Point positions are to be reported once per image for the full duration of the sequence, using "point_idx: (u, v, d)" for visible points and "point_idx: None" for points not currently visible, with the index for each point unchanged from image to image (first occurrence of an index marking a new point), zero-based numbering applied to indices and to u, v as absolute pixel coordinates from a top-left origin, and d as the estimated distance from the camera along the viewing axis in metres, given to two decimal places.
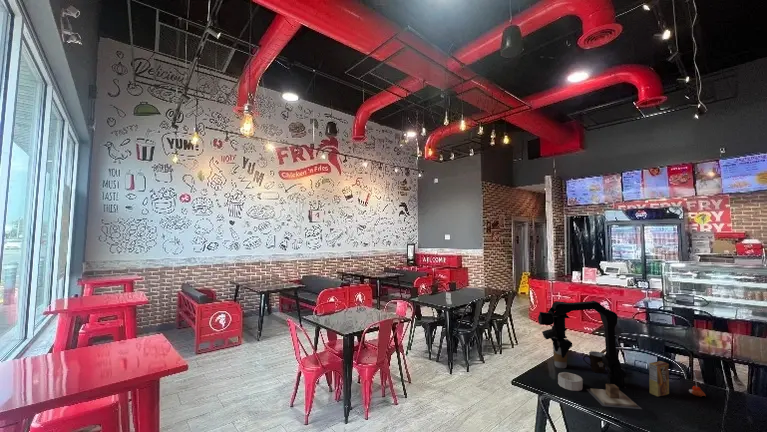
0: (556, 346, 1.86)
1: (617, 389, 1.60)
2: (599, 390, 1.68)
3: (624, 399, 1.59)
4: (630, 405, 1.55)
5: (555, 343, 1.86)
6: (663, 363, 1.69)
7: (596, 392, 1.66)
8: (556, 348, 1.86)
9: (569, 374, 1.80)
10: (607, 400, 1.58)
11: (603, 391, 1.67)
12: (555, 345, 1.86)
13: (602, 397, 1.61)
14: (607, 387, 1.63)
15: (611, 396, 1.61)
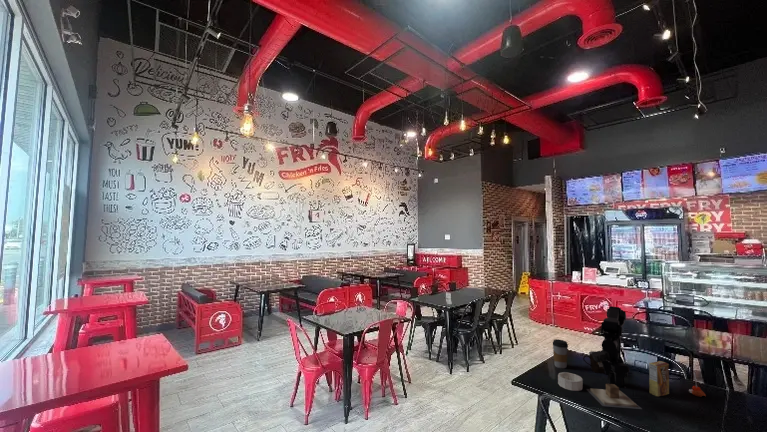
0: (607, 369, 1.67)
1: (617, 389, 1.60)
2: (599, 390, 1.68)
3: (624, 399, 1.59)
4: (630, 405, 1.55)
5: (605, 366, 1.68)
6: (663, 363, 1.69)
7: (596, 392, 1.66)
8: (607, 371, 1.67)
9: (569, 374, 1.80)
10: (607, 400, 1.58)
11: (603, 391, 1.67)
12: (605, 368, 1.68)
13: (602, 397, 1.61)
14: (607, 387, 1.63)
15: (611, 396, 1.61)
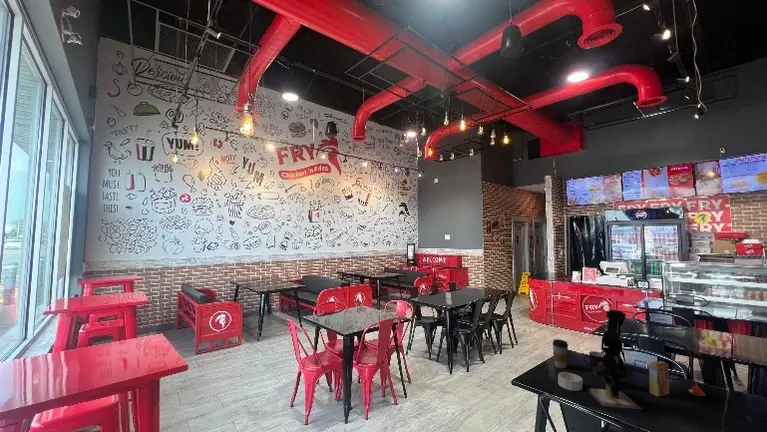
0: None
1: None
2: (599, 390, 1.68)
3: (624, 399, 1.59)
4: (630, 405, 1.55)
5: (608, 382, 1.65)
6: (663, 363, 1.69)
7: (596, 392, 1.66)
8: None
9: (569, 374, 1.80)
10: (607, 400, 1.58)
11: (603, 391, 1.67)
12: None
13: (602, 397, 1.61)
14: (607, 387, 1.63)
15: (611, 396, 1.61)
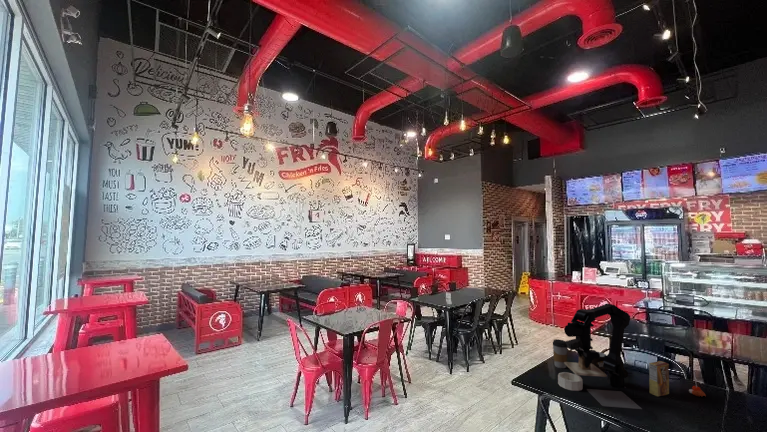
0: None
1: None
2: (573, 363, 1.77)
3: (595, 370, 1.68)
4: (600, 375, 1.63)
5: (581, 355, 1.73)
6: (663, 363, 1.69)
7: (569, 365, 1.74)
8: None
9: (569, 374, 1.80)
10: (579, 371, 1.66)
11: (576, 364, 1.75)
12: None
13: (575, 369, 1.69)
14: (580, 359, 1.71)
15: (583, 368, 1.69)
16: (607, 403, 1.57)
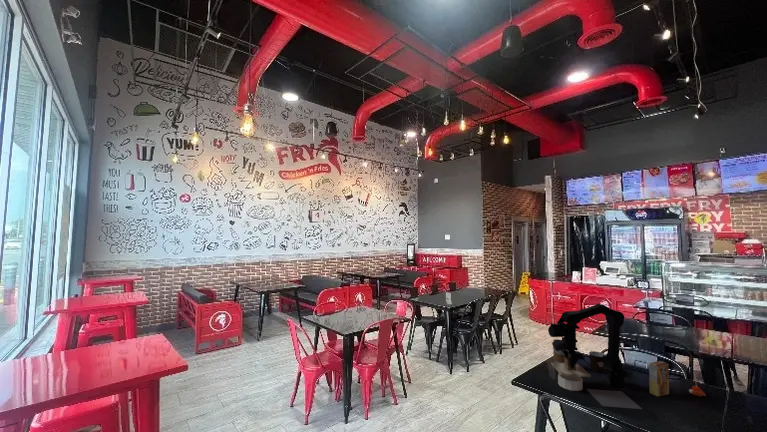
0: None
1: None
2: (559, 363, 1.82)
3: (580, 371, 1.73)
4: (584, 375, 1.68)
5: (567, 356, 1.78)
6: (663, 363, 1.69)
7: (556, 365, 1.79)
8: None
9: None
10: (564, 371, 1.72)
11: (563, 364, 1.80)
12: None
13: (560, 369, 1.74)
14: (565, 360, 1.76)
15: (568, 368, 1.74)
16: (607, 403, 1.57)
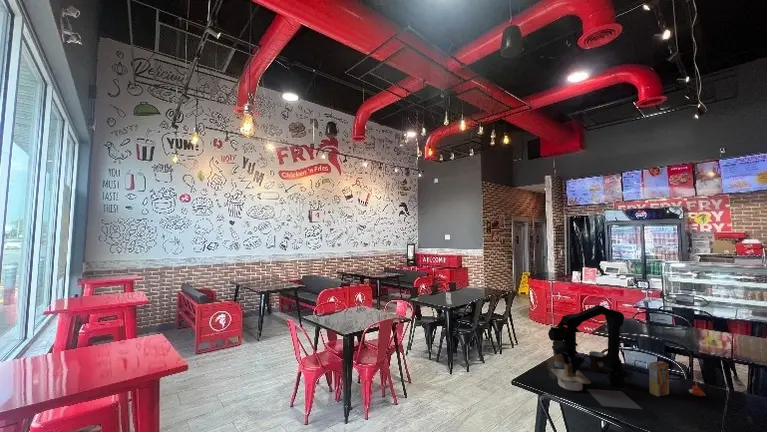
0: (566, 361, 1.80)
1: None
2: (559, 370, 1.82)
3: (580, 377, 1.73)
4: (584, 382, 1.68)
5: (565, 358, 1.80)
6: (663, 363, 1.69)
7: (556, 371, 1.79)
8: (566, 363, 1.80)
9: None
10: (564, 378, 1.71)
11: (563, 371, 1.80)
12: (565, 360, 1.80)
13: (560, 375, 1.74)
14: (565, 366, 1.76)
15: (568, 374, 1.74)
16: (607, 403, 1.57)
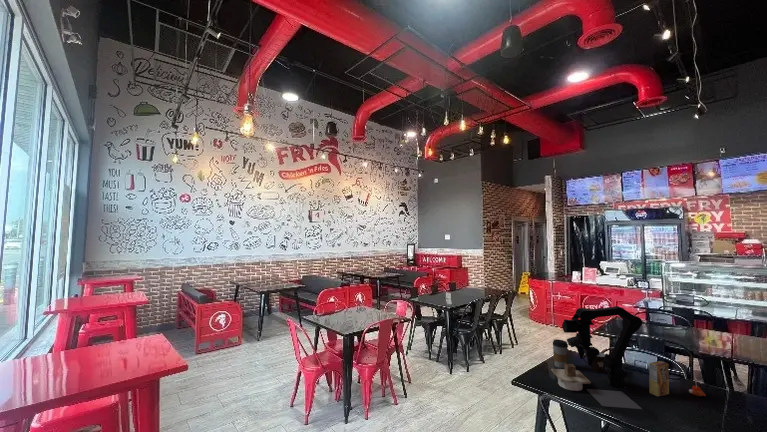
0: (581, 353, 1.83)
1: (574, 368, 1.74)
2: (559, 370, 1.82)
3: (580, 377, 1.73)
4: (584, 382, 1.68)
5: (580, 350, 1.83)
6: (663, 363, 1.69)
7: (556, 371, 1.79)
8: (581, 355, 1.83)
9: None
10: (564, 378, 1.71)
11: (563, 371, 1.80)
12: (580, 352, 1.83)
13: (560, 375, 1.74)
14: (565, 366, 1.76)
15: (568, 374, 1.74)
16: (607, 403, 1.57)
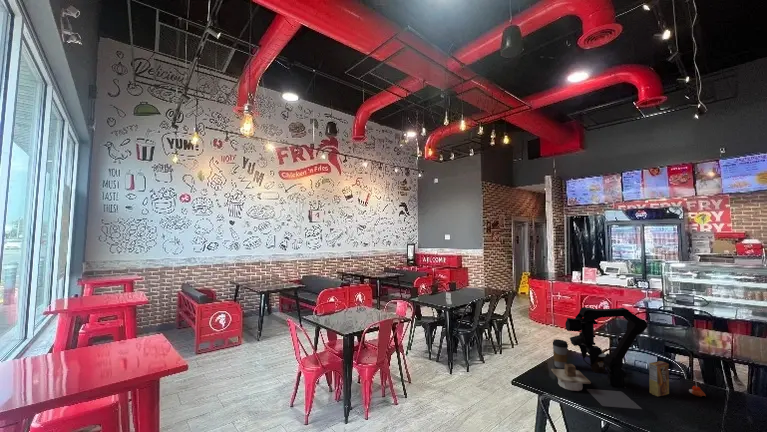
0: (584, 352, 1.84)
1: (574, 368, 1.74)
2: (559, 370, 1.82)
3: (580, 377, 1.73)
4: (584, 382, 1.68)
5: (582, 349, 1.84)
6: (663, 363, 1.69)
7: (556, 371, 1.79)
8: (584, 354, 1.84)
9: None
10: (564, 378, 1.71)
11: (563, 371, 1.80)
12: (582, 351, 1.84)
13: (560, 375, 1.74)
14: (565, 366, 1.76)
15: (568, 374, 1.74)
16: (607, 403, 1.57)
